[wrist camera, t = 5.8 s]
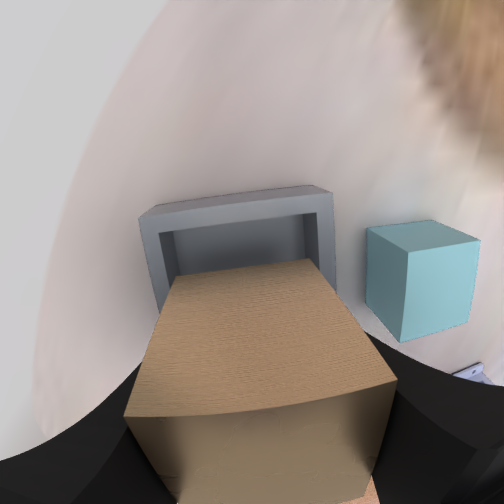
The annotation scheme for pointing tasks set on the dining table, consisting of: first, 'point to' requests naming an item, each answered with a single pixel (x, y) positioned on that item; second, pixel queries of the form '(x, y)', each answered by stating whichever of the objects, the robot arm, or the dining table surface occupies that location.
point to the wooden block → (260, 390)
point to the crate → (239, 234)
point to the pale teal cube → (420, 277)
